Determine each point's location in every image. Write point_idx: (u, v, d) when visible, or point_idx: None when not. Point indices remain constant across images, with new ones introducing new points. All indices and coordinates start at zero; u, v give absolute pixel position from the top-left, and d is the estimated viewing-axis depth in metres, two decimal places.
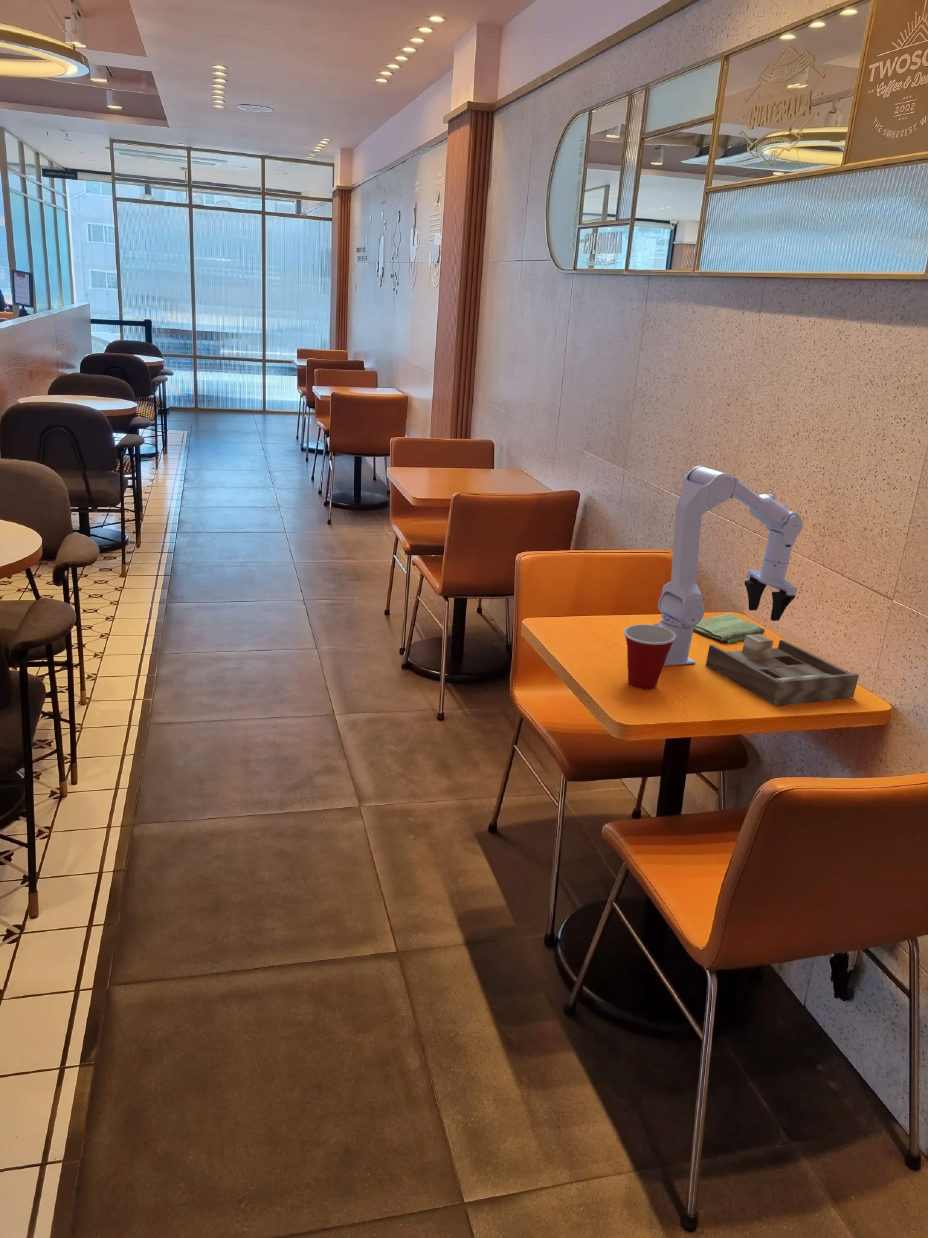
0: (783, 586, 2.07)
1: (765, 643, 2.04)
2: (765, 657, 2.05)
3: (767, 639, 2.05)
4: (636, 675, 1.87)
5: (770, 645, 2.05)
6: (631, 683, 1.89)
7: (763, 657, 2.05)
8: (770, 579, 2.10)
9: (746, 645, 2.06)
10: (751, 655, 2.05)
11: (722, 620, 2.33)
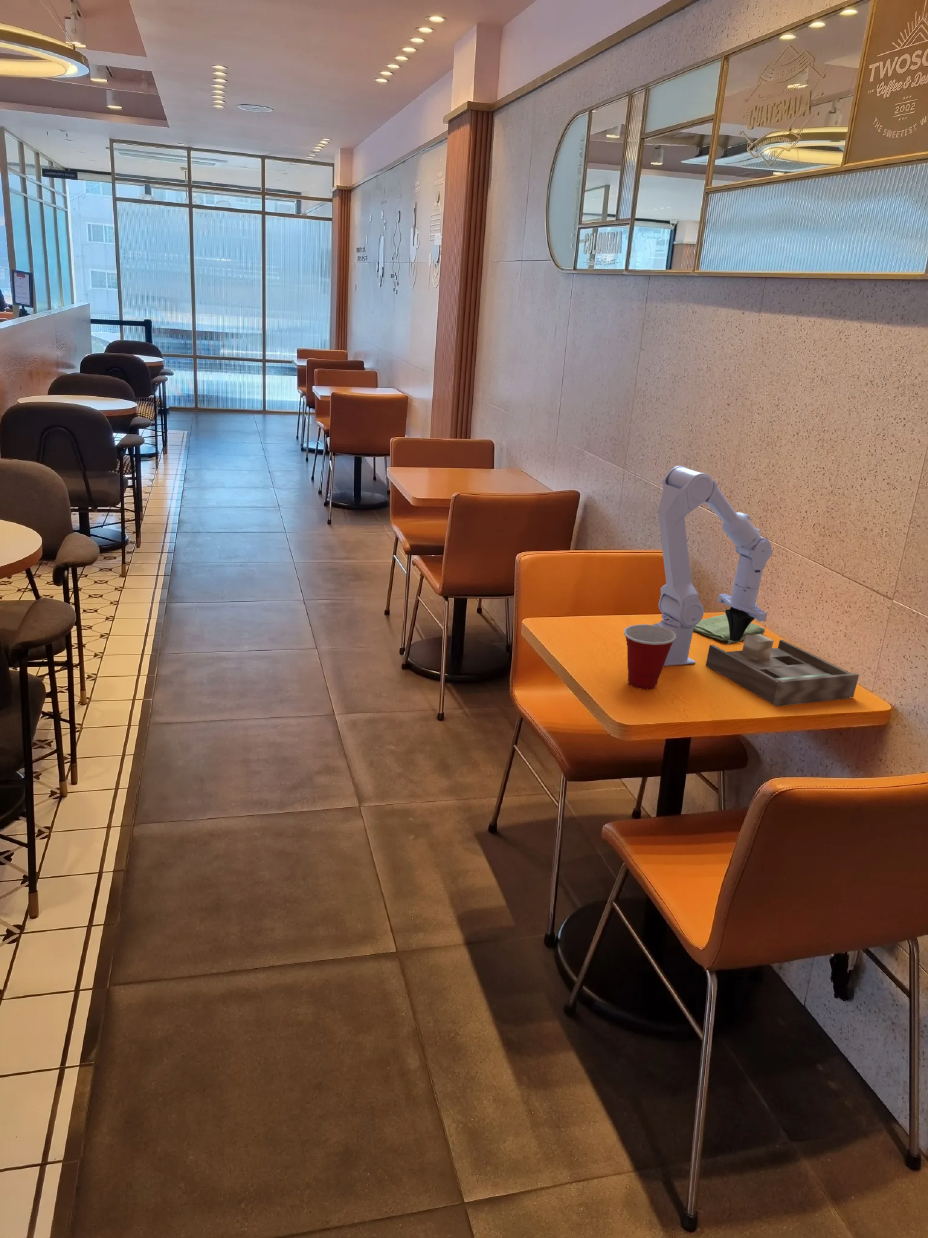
0: (753, 612, 2.05)
1: (765, 643, 2.04)
2: (765, 657, 2.05)
3: (767, 639, 2.05)
4: (636, 675, 1.87)
5: (770, 645, 2.05)
6: (631, 683, 1.89)
7: (763, 657, 2.05)
8: (740, 605, 2.08)
9: (746, 645, 2.06)
10: (751, 655, 2.05)
11: (722, 620, 2.33)
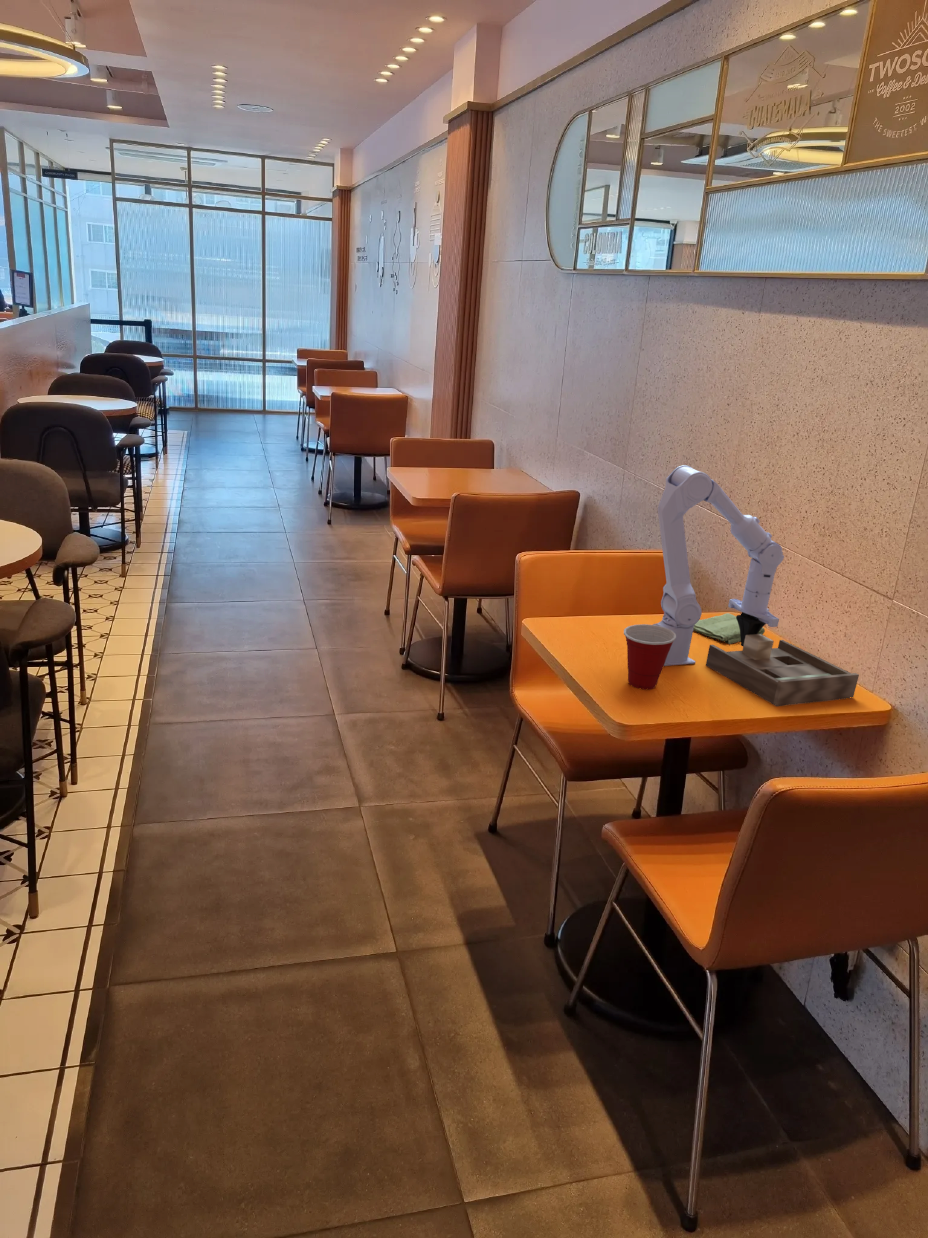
0: (765, 617, 2.02)
1: (765, 643, 2.04)
2: (765, 657, 2.05)
3: (767, 639, 2.05)
4: (636, 675, 1.87)
5: (770, 645, 2.05)
6: (631, 683, 1.89)
7: (763, 657, 2.05)
8: (751, 610, 2.04)
9: (746, 645, 2.06)
10: (751, 655, 2.05)
11: (722, 620, 2.33)
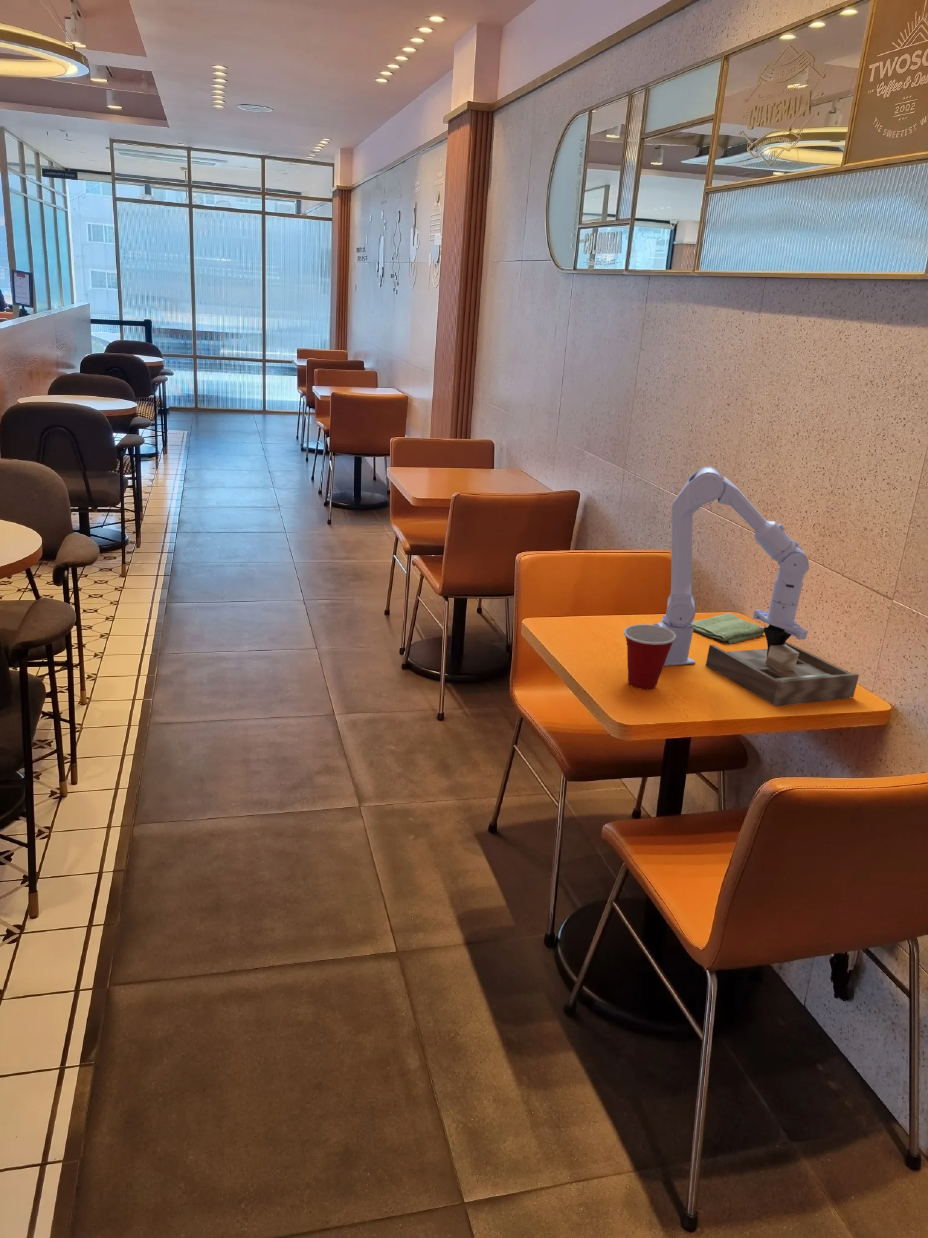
0: (793, 629, 1.95)
1: (790, 656, 1.97)
2: (789, 669, 1.99)
3: (792, 651, 1.98)
4: (636, 675, 1.87)
5: (795, 657, 1.98)
6: (631, 683, 1.89)
7: (787, 669, 1.99)
8: (778, 622, 1.97)
9: (770, 656, 2.00)
10: (775, 667, 1.99)
11: (722, 620, 2.33)
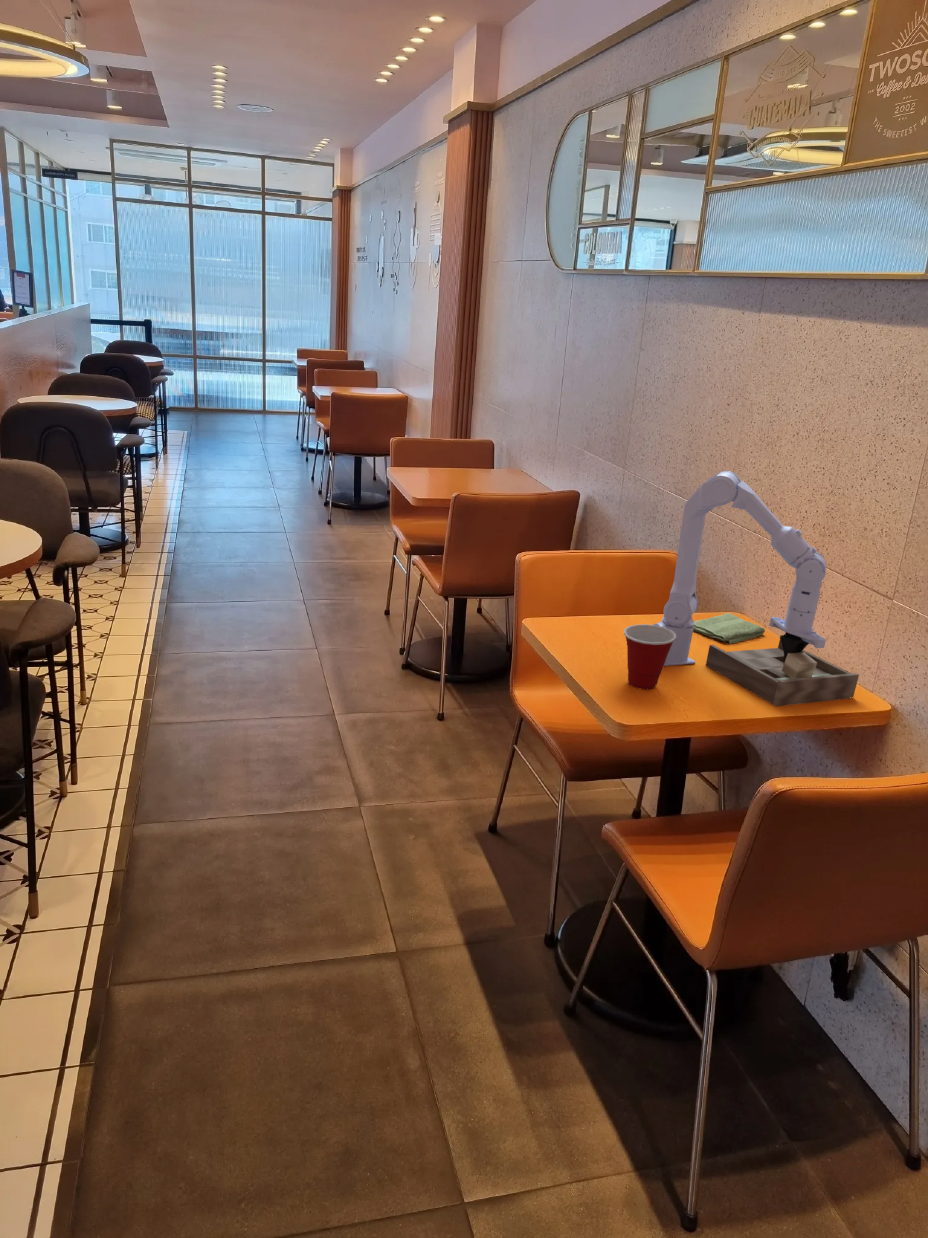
0: (810, 638, 1.90)
1: (807, 665, 1.93)
2: None
3: (810, 660, 1.94)
4: (636, 675, 1.87)
5: (813, 667, 1.93)
6: (631, 683, 1.89)
7: None
8: (796, 630, 1.93)
9: (787, 664, 1.95)
10: (791, 675, 1.94)
11: (722, 620, 2.33)
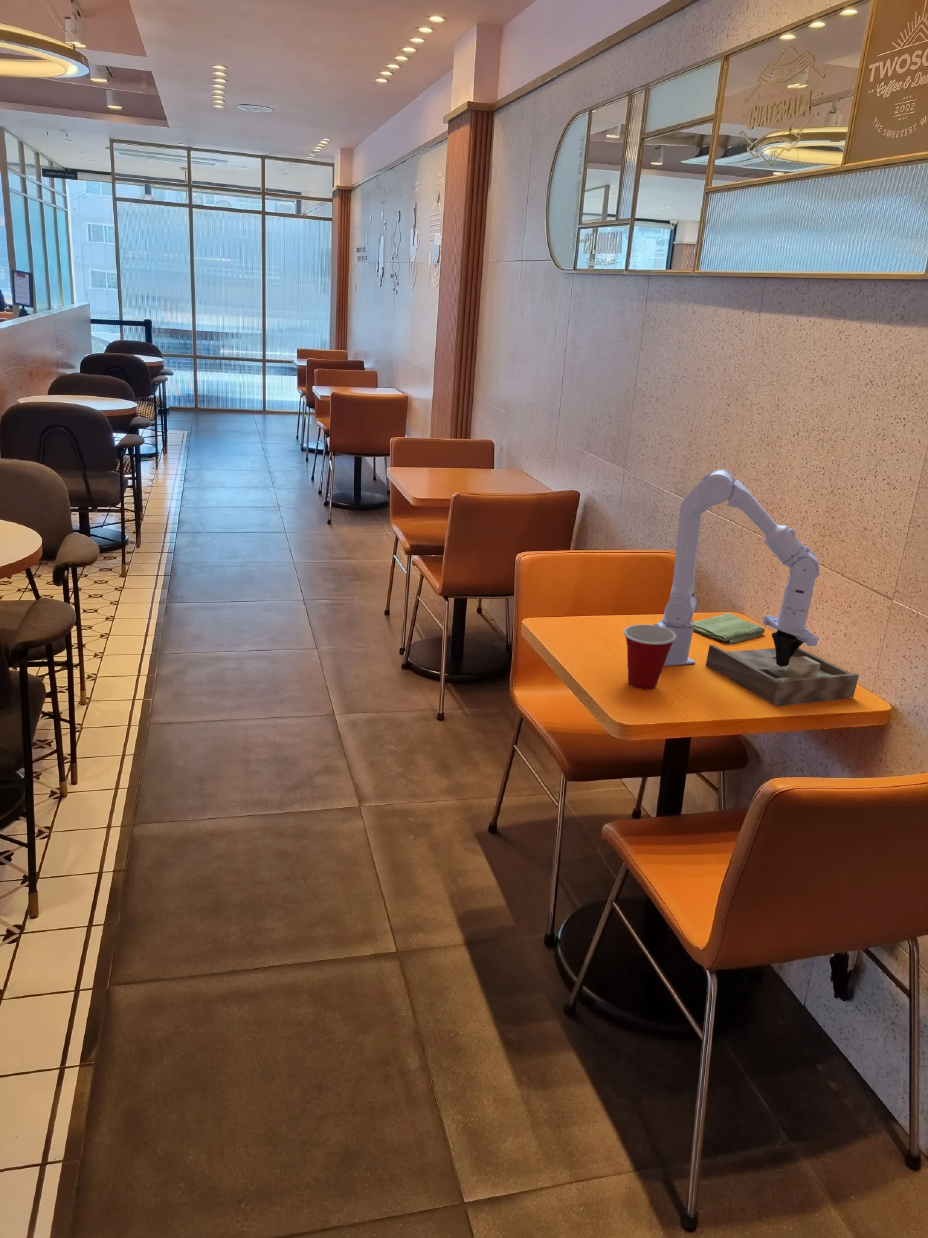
0: (803, 636, 1.92)
1: (811, 666, 1.92)
2: None
3: (813, 662, 1.93)
4: (636, 675, 1.87)
5: (817, 668, 1.93)
6: (631, 683, 1.89)
7: None
8: (788, 628, 1.94)
9: (791, 668, 1.94)
10: None
11: (722, 620, 2.33)
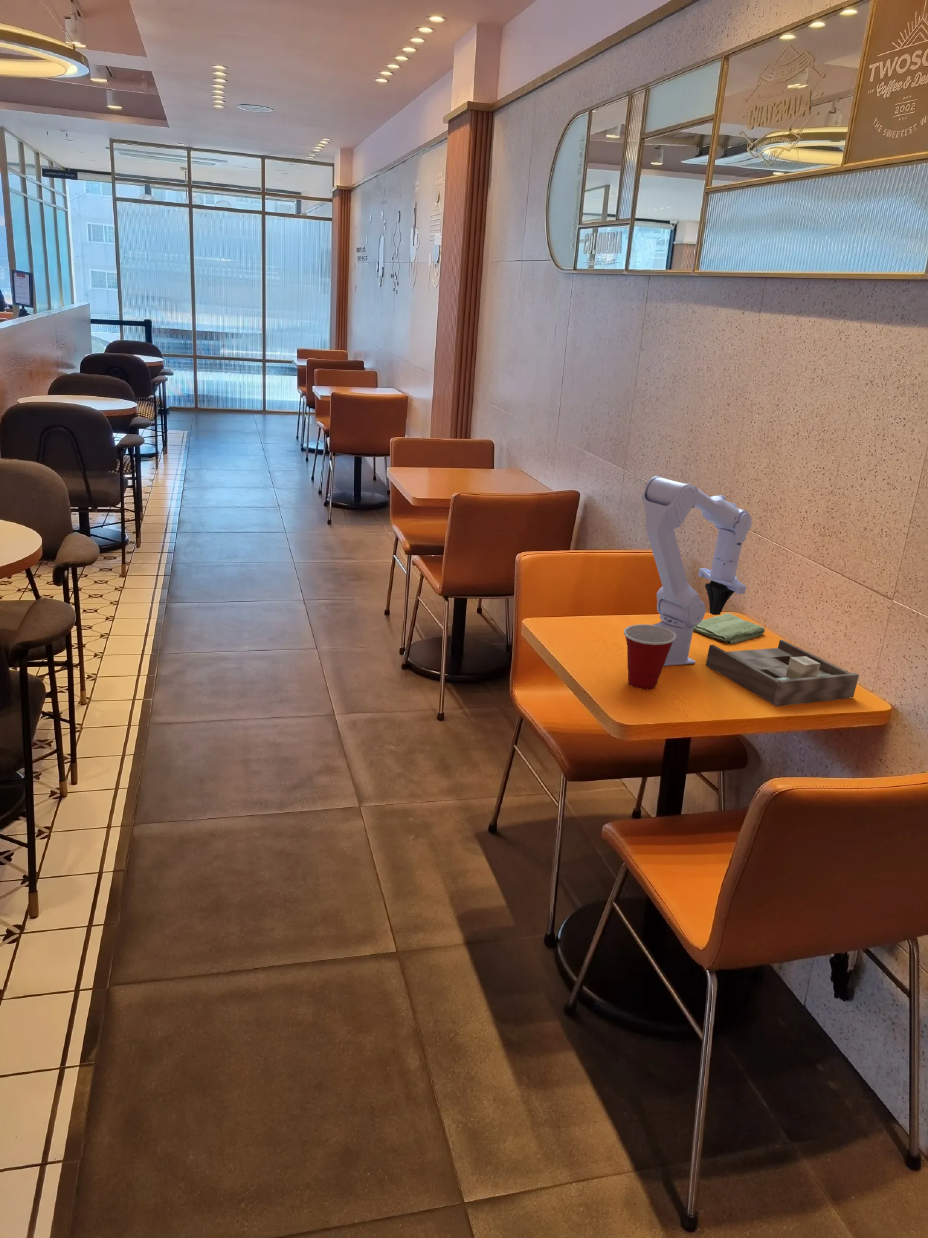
0: (732, 585, 2.05)
1: (811, 666, 1.92)
2: None
3: (813, 662, 1.93)
4: (636, 675, 1.87)
5: (817, 668, 1.93)
6: (631, 683, 1.89)
7: None
8: (719, 578, 2.08)
9: (791, 668, 1.94)
10: None
11: (723, 620, 2.33)
